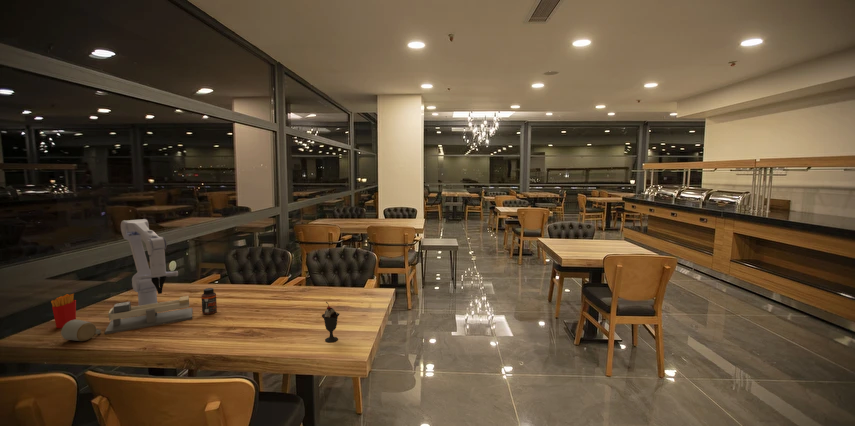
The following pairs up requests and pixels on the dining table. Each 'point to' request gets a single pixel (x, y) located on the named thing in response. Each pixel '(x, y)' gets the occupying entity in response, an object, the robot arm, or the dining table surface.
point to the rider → (122, 307)
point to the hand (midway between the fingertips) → (160, 293)
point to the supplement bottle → (209, 301)
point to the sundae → (330, 322)
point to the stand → (148, 320)
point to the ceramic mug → (79, 330)
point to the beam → (158, 307)
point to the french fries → (64, 310)
